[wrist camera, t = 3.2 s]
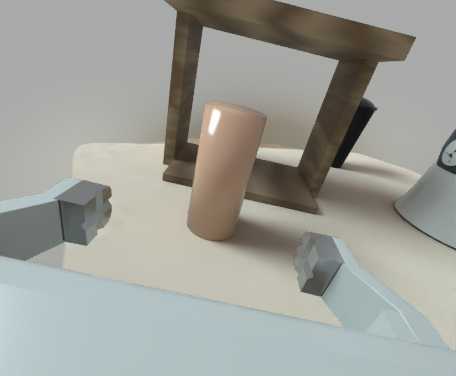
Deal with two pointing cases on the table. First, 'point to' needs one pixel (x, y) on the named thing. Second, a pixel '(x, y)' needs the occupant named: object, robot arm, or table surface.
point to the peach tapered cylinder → (223, 168)
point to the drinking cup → (354, 131)
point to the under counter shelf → (292, 38)
